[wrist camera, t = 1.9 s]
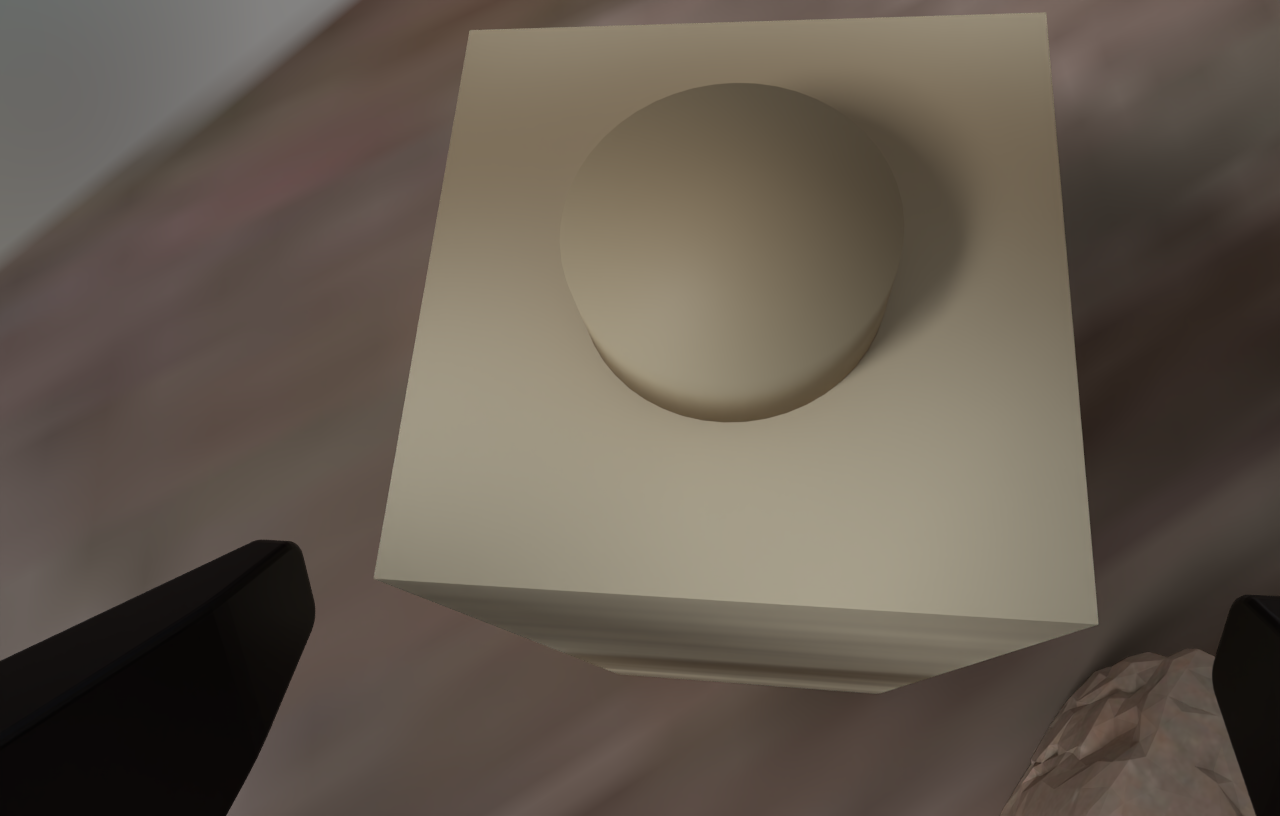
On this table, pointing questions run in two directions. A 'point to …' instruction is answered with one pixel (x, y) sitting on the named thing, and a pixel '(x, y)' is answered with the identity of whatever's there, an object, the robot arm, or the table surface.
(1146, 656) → the brick
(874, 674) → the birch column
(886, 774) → the table surface
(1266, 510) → the table surface
